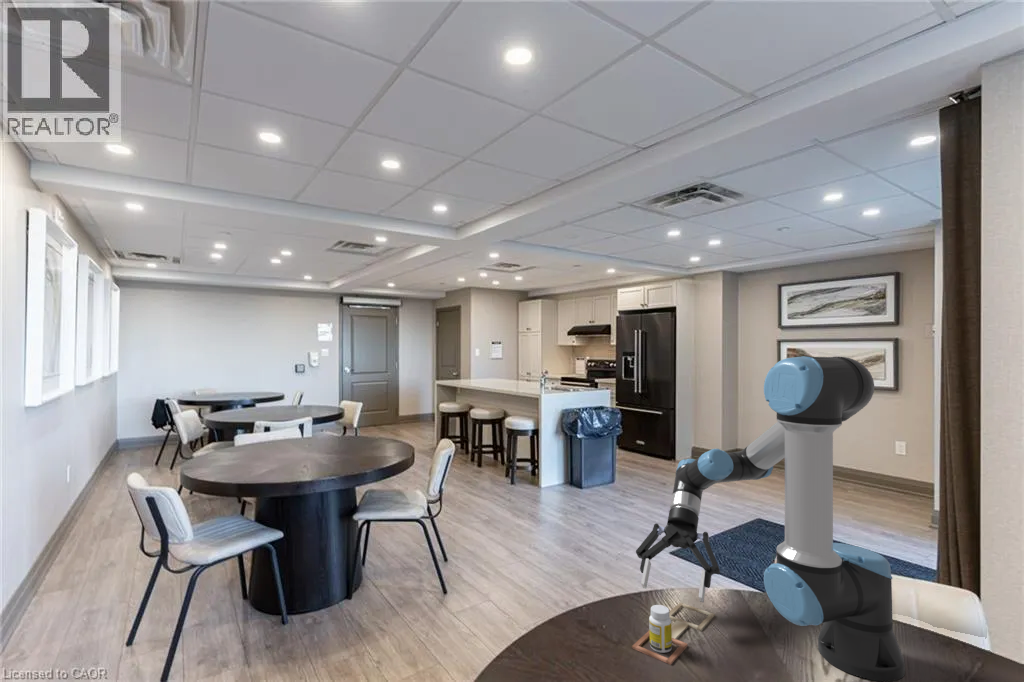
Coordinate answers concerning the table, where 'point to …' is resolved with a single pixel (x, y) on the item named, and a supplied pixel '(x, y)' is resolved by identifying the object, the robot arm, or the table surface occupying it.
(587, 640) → the table surface
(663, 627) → the supplement bottle
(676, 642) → the linked wooden frames
